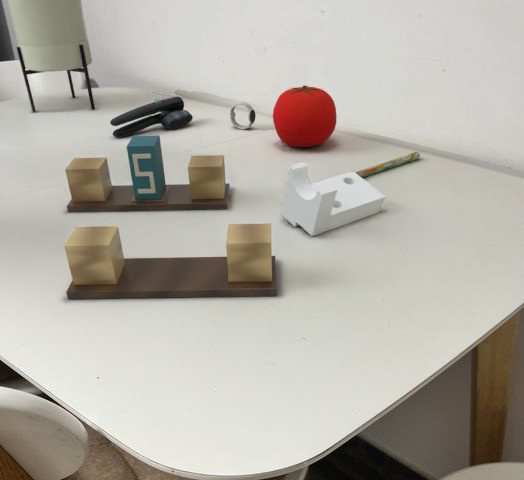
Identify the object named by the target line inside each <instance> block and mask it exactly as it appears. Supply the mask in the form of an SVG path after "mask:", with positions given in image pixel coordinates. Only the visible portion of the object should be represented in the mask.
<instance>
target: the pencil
mask: <svg viewBox="0 0 524 480" xmlns="http://www.w3.org/2000/svg"><path fill="white" fill-rule="evenodd" d="M420 157H421V153H420V152H419V151H415V152H410V153H408V154H406V155H403V156H401V157H397V158H394V159H390V160H388V161H385V162H381V163H379V164H375V165H373V166H370V167H367V168H364V169H361V170H358V171H354V172H355V173H356V174H357V175H359V176H360V177H361V178H362V179H363V178H365V177H369V176H371V175H374V174H377V173H380V172H382V171H386V170H389V169H391V168H394V167H397V166H400V165H404V164H406V163H409V162H413V161H415V160H419V159H420Z"/></svg>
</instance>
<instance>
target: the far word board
mask: <svg viewBox="0 0 524 480" xmlns="http://www.w3.org/2000/svg"><path fill="white" fill-rule="evenodd" d="M107 158H108V157H106V156H105V157H73V159H72V160H71V161H70V163H69V164H68V165H67V166H66V168H65V169H64V171H65V175H66V180H67V183H68V188H69V192H70V196H71V197H70V198H71V199H70V200H69V202H68V203H67V205H66V209H67V213H87V212H91V213H92V212H93V213H94V212H96V213H97V212H144V211H145V212H146V211H152V212H153V211H197V210H199V211H200V210H202V211H204V210H205V211H206V210H228V205H229V200H230V199H229V198H230V191H231V186H230V183H227V182H226V179H227V178H226V163H225V155H224V154H211V155H209V154H208V155H206V154H205V155H191V156H190V159H189V162H188V165H187V172H188V181H189V183H183V184H181V183H179V184H174V183H173V184H166V189H165V191H164V194H163V197H162V199H157V200H135V196H134V189H133V184H132V185H131V184H128V185H122V184H121V185H112V179H111V174H110V168H109V163H108V159H107Z"/></svg>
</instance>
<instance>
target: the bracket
mask: <svg viewBox="0 0 524 480" xmlns="http://www.w3.org/2000/svg"><path fill="white" fill-rule="evenodd" d="M355 172H356V171H354V170H352V171H348V172H345V173H342V174H339V175H336V176H333V177H332V176H331V177H329V178H325V179H322V180H319V181H316V182H313V183H311V182H310V177H309V165H308V164H307V163H306V161H301V162H299V163H295V164H292V165H288V169H287V174H286V180H285V185H284V190H283V195H282V201H281V207H280V212H279V214H280V215H281V216H283V217H284V218H285V219H286V221H288V222H289V223H290V224H291V225H292V226H293V227H294V228H297V227H301V228H303V230H305V232H306V233H308V234H309V235H310V236H311V237H314V236H317V235H319V234H323V233H325V232H328V231H331V230H333V229H337V228H340V227H342V226H345V225H348V224H351V223H353V222H356V221H358V220H362V219H364V218H367V217H370V216H372V215H375V214H378V213H380V212H381V211H382V208H383V206H384V201H385V199H386V196H385V195H384V194H383V193H381V192H380V191H379V190H378V189H377V188H376V187H374V186H373V185H372V184H370V183H369V182H367V181H366V180H365V179H364V178H363V177H362V178H361V177H360V176H359V175H357V174H356V173H355Z"/></svg>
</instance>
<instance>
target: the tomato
mask: <svg viewBox="0 0 524 480" xmlns="http://www.w3.org/2000/svg"><path fill="white" fill-rule="evenodd" d="M272 121H273V125H274V129H275V131H276V135H277V136H278V138H279V140H280V141H281V142H282V143H283V144H285V145H286V146H289V147H293V148H310V147H316V146H320V145H322V144H324V143H325V142H326V141H328V140H329V139H330V137H332V135H333V134H334V131H335V130H336V126H337V107H336V104H335V101H334V99H333V98H332V96H331V94H329V92H327V91H326V90H324V89H322V88H319V87H315V86H308V84H307V85H305V84H304V85H302V86H299V87H291V88H288V89H286V90H285V91H282V93H281V94H280V95H279V96H278V98H277V100H276V102H275V104H274V107H273V110H272Z"/></svg>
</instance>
